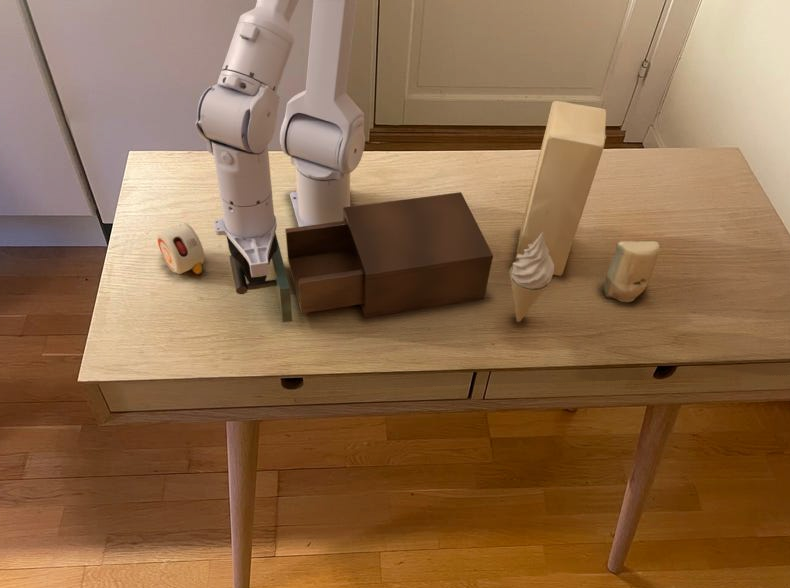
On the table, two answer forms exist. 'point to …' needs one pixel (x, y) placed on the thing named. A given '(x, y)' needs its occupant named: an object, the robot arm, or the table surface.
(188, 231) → the roller toy
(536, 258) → the ice cream cone
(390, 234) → the cabinet
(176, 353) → the table surface
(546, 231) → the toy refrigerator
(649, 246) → the cream stubby rounded block
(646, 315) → the table surface
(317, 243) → the drawer
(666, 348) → the table surface
